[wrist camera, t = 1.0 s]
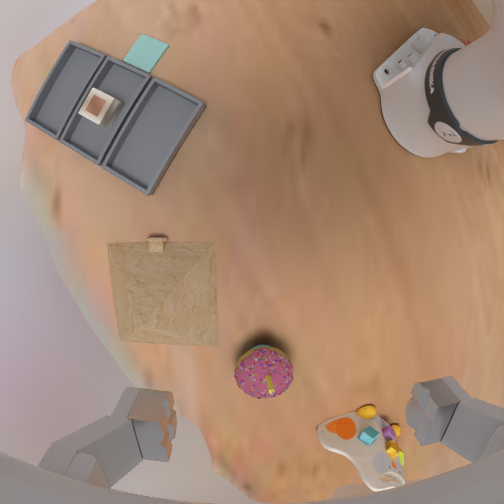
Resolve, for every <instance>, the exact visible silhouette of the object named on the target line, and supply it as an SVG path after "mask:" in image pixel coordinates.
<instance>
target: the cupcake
mask: <svg viewBox="0 0 504 504" xmlns="http://www.w3.org/2000/svg"><path fill="white" fill-rule="evenodd" d="M234 377H235V379H236V382H237V385H238V386H239V388H241V389H242V390H243V391H244V392H245V393H247V394H248V395H249V396H252V397H253V396H254V397H257V398H258V399H259V398H260V399H261V398H270V397H276V396H278V395H280V394H281V393H283V392H285V390H287V389H288V387H289V385H290V384H291V382H292V381H293V366H292V363H291V360H290V358H289V357H288V355H287V354H286V353H284V352H283V351H281V350H280V349H278V348H273V347H271V346H269V345H264V344H262V345H257V346H255V347H253V348H252V349H251V350H248V351H247V352H246V353H245V354H243V355H242V356H241V357H240V358H239V359H238V361H237V364H236V368H235V375H234Z"/></svg>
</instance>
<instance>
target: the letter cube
mask: <svg viewBox="0 0 504 504" xmlns="http://www.w3.org/2000/svg"><path fill="white" fill-rule="evenodd" d="M124 105H125V104H124V103H122V102H121V101H119V100H117V99H115V98H113V97H111V96H109V95H107V94H106V93H104V92H102V91H100V90H98V89H96V88H92V90H91V91H90V93H89V95H88V96H87V98H86V100H85V102H84V103H83V105H82V107H81V109H80V111H79V112H78V113H79V114H80V115H82V116H84V117H86V118H88V119H89V120H91V121H93V122H95V123H97V124H98V125H101V126H104V127H107V128H111V127H112V125H113V124H114V122H115V120H116V118H117V117H118V115H119V113H120V112H121V110H122V108H123V107H124Z"/></svg>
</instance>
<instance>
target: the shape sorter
mask: <svg viewBox="0 0 504 504" xmlns="http://www.w3.org/2000/svg"><path fill="white" fill-rule="evenodd" d="M400 431H401V428H400V426H399V425H391V426H390V425H389V424H388V423H387V422H386V421H384V420H383V419H382V418H380V417H379V416H378V415H376V408H375V407H374V406H371V405H367V406H364V407H361V408H360V409H358V410H357V412H351V413H347V414H343V415H340V416H337V417H334V418H332V419H330V420H328V421H326V422H324V423H322V424H320V425H319V426H318V429H317V435H318V438H319V441H320V442H321V444H322V445H323V446H324V447H325V448H326V449H327V450H329V451H333V452H336V453H339V454H342V455H344V456H346V457H347V458H348V459H350V460H351V461H352V463H353V464H354V465H355V467H356V468H357V470H358V472H359V474H360V476H361V478H362V480H363V481H364V482H365V483H366V485H367V486H368V487H369V488H370V489H371V490H373V491H382V490H385V489H391V488H395V487H399V486H403V485H406V484H405V480H404V476H403V471H402V467H401V465H403V464H404V453H403V451H401V449H400V448H399V447H398V444H397V443H395V440H394V439H395V438H397V437H398V436H399V434H400ZM380 477H382V478H388V479H391V480H392V481H387V482H382V481H381V480H380Z"/></svg>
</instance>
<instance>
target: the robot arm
mask: <svg viewBox="0 0 504 504" xmlns="http://www.w3.org/2000/svg"><path fill="white" fill-rule="evenodd" d="M492 3H493V20H492V24H491V26H490V28H489V30H488V31H487V32H486V33H485V34H484V35H483V36H481V37H480V38H478V39H477V40H475V41H474V42H470V41H469V40H467V41H468V42H469V43H470V44H468V43H467V42H465V41H464V44H465V45H466V46H465V45H464V44H463V43H462V42H460V41H459V40H458V39H456V38H455V37H453V36H451V35H449V34H446V33H439V34H438V33H437V32H435V31H433V30H430V29H427V28H421V29H419V30H418V31H417V32H416V33H414V34H413V35H412V36H411V37H410V38H409V39H408V40H407V41H406V42H405V43H403V44H402V45H401V46H400V47H399V48H398V49H397V50H396V51H395V52H394V53H393V54H392V55H391V56H390V57H388V58H387V59H386V60H385V61H384V62H383V63H382V64H381V65H380V66H379V67H378V68H377V69H376V70H375V71H374V72H373V79H374V82H375V84H376V86H377V88H378V90H379V92H380V96H381V107H382V113H383V117H384V120H385V122H386V125H387V127H388V129H389V131H390V132H391V134H392V135H393V137H394V138H395V139H396V140H397V142H398V143H399V144H400V145H401V146H402V147H404V148H405V149H406V150H408V151H409V152H411V153H413V154H415V155H417V156H421V157H426V158H432V157H437V156H440V155H443V154H445V153H448V152H451V153H463V152H465V151H466V149H467V148H469V147H473V146H478V145H482V146H485V145H489V144H492V143H495V142H497V141H498V140H504V0H492ZM384 70H386V71H387V73H388V74H386V73H385V72H384ZM411 394H412V396H413V397H412V398H411V399H410V400H409V401H408V403H407V406H406V409H405V417H406V420H407V423H408V425H409V426H410V427H412V428H414V429H415V433H414V435H415V437H416V438H417V440H418V442H419V443H420V445H421V446H424V445H428V444H432V443H436V442H440V441H441V443H442V444H444V445H445V446H447V447H448V448H450V449H452V450H453V451H455V452H456V453H458V454H459V455H461V456H462V457H464V458H466V459H467V460H469V461H470V462H472V463H471V464H468V465H466V466H463V467H460V468H458V469H455V470H452V471H449V472H446V473H443V474H440V475H437V476H434V477H431V478H428V479H425V480H421V481H418V482H414V483H411V484H407V485H403V486H399V487H395V488H391V489H386V490H382V491H377V492H372V493H367V494H362V495H357V496H351V497H344V498H338V499H330V500H322V501H313V502H302V503H288V504H504V409H503V408H501V407H498V406H495V405H493V404H490V403H487V402H485V401H482V400H479V399H477V398H474V399H472V398H471V397H470V395H469V394H468V393H467V392H466V391H465V390H464V389H463V388H462V387H461V386H460V384H459V383H458V382H457V381H456V380H455V379H454V378H453V377H451V376H447V377H442V378H438V379H435V380H430V381H424V382H418V383H415V384H414V386H413V388H412V391H411ZM173 404H174V398H173V394H172V392H167V391H159V390H150V389H143V388H142V389H141V388H134V387H127V388H125V390H124V392H123V393H122V395H121V397H120V399H119V401H118V403H117V405H116V407H115V409H114V411H113V413H112V414H111V416H105V417H103V418H101V419H99V420H97V421H95V422H93V423H91V424H89V425H88V426H85V427H84V428H81V429H80V430H78V431H76V432H74V433H71V434H69V435H67V436H65V437H63V438H61V439H59V440H57V441H55V442H53V443H52V444H51V446H50V447H49V449H48V450H47V452H46V453H45V455H44V457H43V458H42V460H41V462H40V463H39V465H38V466H34V465H32V464H29V463H27V462H25V461H22V460H19V459H17V458H15V457H13V456H10V455H8V454H6V453H4V452H2V451H0V504H212V503H197V502H186V501H177V500H170V499H162V498H155V497H149V496H143V495H138V494H133V493H128V492H123V491H118V490H113V489H110V487H111V486H113V485H114V484H115V483H116V482H118V481H119V480H120V479H121V478H122V477H124V476H125V475H126V474H127V473H128V472H130V471H131V470H132V469H133V468H135V467H136V466H137V465H138V464H139V463H140V462H141V461H143V459H146V460H154V461H163V462H168V461H169V458H170V455H171V451H172V444H171V440H173V439H174V438H175V434H176V425H177V420H176V412H175V411H174V410H173V409H172V407H173Z"/></svg>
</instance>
